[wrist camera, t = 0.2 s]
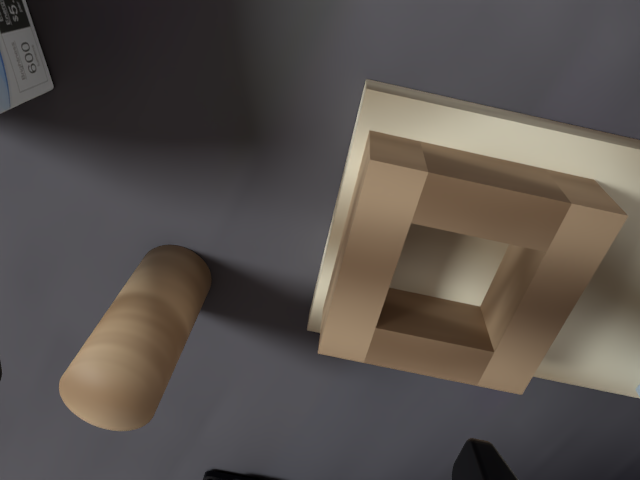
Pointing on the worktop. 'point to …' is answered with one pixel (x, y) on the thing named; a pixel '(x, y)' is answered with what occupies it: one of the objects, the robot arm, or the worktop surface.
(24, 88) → the light bulb box
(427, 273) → the awning socket
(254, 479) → the robot arm
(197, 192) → the worktop surface
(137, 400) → the peg
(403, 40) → the worktop surface
